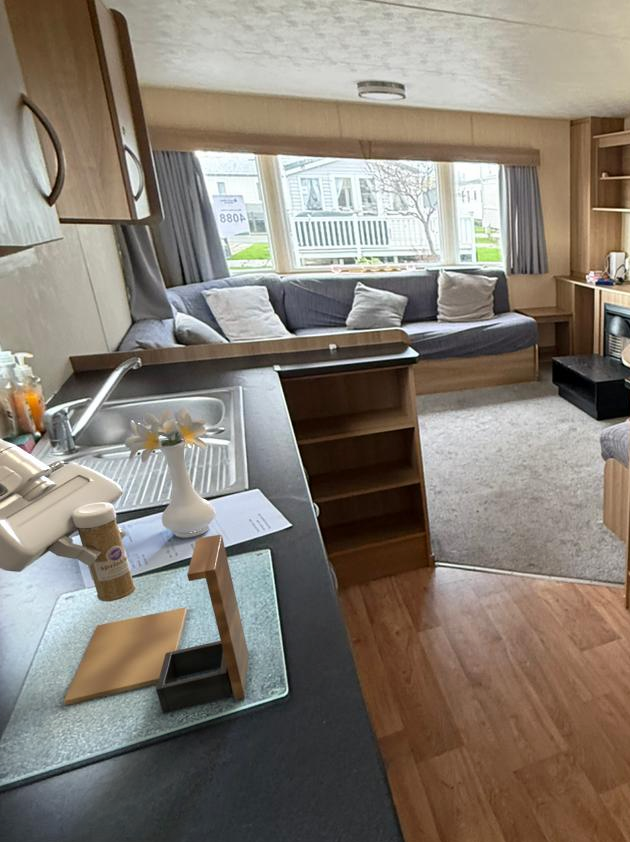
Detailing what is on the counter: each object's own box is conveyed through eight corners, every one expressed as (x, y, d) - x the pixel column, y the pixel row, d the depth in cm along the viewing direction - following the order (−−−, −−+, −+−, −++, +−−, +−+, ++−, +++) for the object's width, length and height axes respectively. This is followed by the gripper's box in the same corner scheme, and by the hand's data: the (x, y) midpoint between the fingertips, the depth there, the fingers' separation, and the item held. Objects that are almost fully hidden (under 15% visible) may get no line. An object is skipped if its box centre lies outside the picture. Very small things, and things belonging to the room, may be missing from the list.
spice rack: (161, 719, 84) (122, 586, 77) (173, 671, 92) (138, 547, 85) (244, 698, 87) (214, 569, 80) (248, 653, 96) (221, 534, 89)
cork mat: (65, 705, 86) (63, 701, 86) (98, 629, 101) (97, 625, 101) (170, 680, 90) (169, 675, 90) (187, 611, 106) (186, 606, 106)
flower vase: (228, 506, 142) (204, 396, 134) (225, 542, 127) (198, 421, 118) (158, 517, 137) (128, 404, 128) (146, 557, 121) (112, 432, 113)
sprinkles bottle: (120, 603, 90) (94, 516, 85) (89, 602, 90) (61, 515, 85) (144, 585, 94) (121, 501, 89) (114, 583, 94) (89, 500, 89)
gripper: (52, 471, 95) (138, 528, 99) (-70, 539, 76) (44, 606, 80) (76, 442, 94) (162, 501, 98) (-41, 503, 75) (72, 573, 79)
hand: (108, 549), depth 89 cm, fingers closed on sprinkles bottle, 4 cm apart
